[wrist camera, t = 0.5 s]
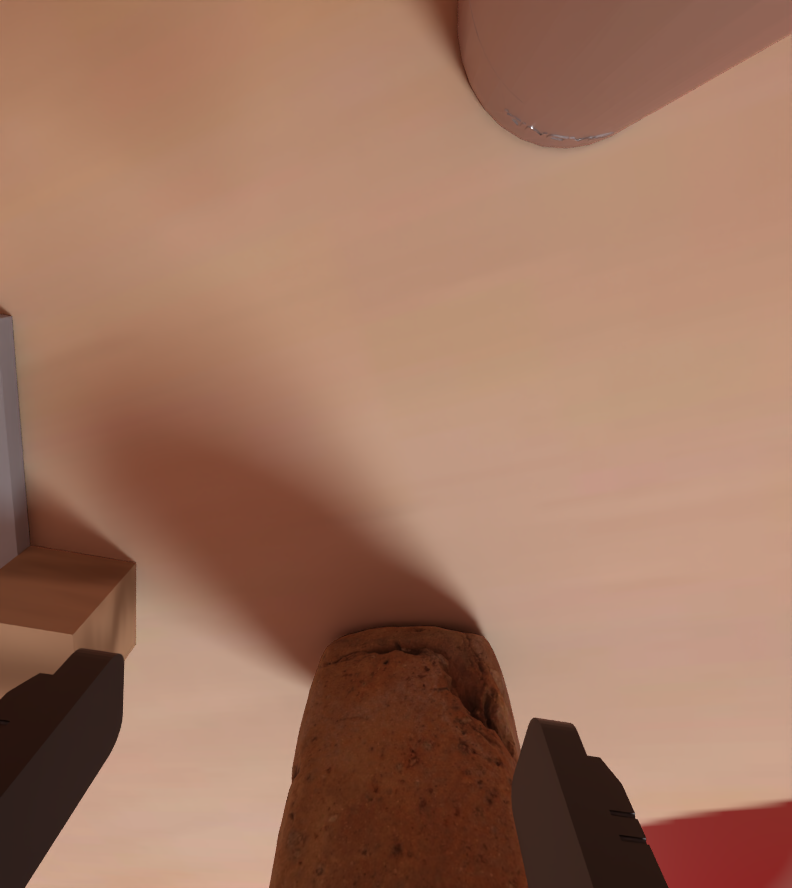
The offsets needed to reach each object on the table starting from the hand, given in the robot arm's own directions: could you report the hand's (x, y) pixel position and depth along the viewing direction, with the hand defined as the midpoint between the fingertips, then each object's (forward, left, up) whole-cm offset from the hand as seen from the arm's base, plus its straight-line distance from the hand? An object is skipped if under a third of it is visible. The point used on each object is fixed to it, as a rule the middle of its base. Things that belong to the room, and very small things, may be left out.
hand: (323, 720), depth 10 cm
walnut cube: (+14, -15, -18) cm, 27 cm away
